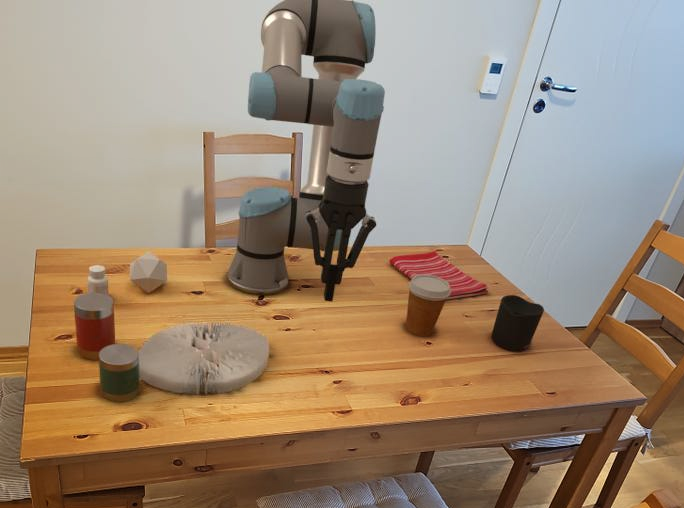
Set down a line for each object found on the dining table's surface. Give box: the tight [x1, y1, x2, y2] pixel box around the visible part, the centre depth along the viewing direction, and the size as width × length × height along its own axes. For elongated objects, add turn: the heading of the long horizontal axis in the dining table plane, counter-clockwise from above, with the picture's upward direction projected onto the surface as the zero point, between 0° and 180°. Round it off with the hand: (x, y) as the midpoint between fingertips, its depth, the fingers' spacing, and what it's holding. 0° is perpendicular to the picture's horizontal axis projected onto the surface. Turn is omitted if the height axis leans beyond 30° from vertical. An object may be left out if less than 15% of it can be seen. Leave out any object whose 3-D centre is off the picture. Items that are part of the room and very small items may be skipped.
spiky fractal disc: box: [138, 321, 270, 396], centre depth 127 cm, size 22×28×3 cm
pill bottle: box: [87, 264, 110, 296], centre depth 142 cm, size 4×4×8 cm
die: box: [129, 250, 168, 294], centre depth 150 cm, size 8×9×10 cm
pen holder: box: [490, 294, 545, 353], centre depth 146 cm, size 9×9×10 cm
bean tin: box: [98, 343, 140, 402], centre depth 115 cm, size 7×7×8 cm
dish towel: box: [389, 251, 489, 301], centre depth 174 cm, size 17×24×3 cm
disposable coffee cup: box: [405, 275, 451, 337], centre depth 146 cm, size 10×10×12 cm
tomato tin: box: [73, 292, 116, 361], centre depth 124 cm, size 7×7×11 cm
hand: (328, 297), depth 123 cm, fingers closed
